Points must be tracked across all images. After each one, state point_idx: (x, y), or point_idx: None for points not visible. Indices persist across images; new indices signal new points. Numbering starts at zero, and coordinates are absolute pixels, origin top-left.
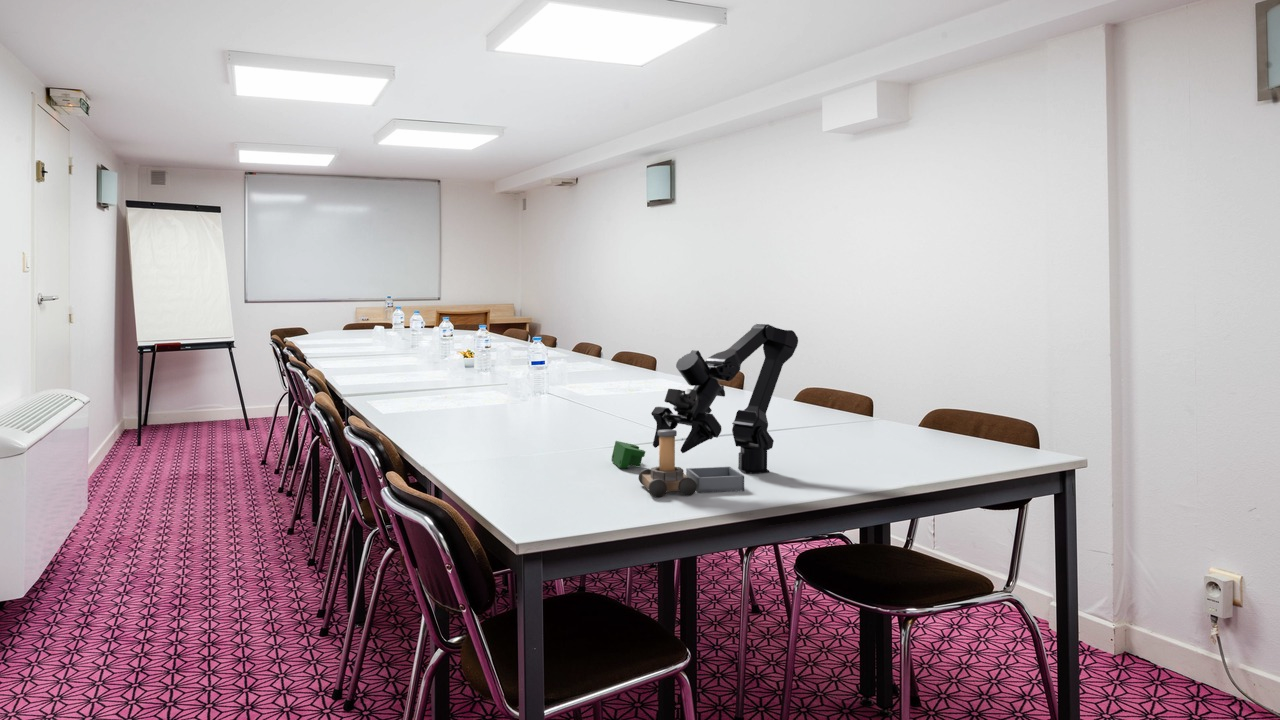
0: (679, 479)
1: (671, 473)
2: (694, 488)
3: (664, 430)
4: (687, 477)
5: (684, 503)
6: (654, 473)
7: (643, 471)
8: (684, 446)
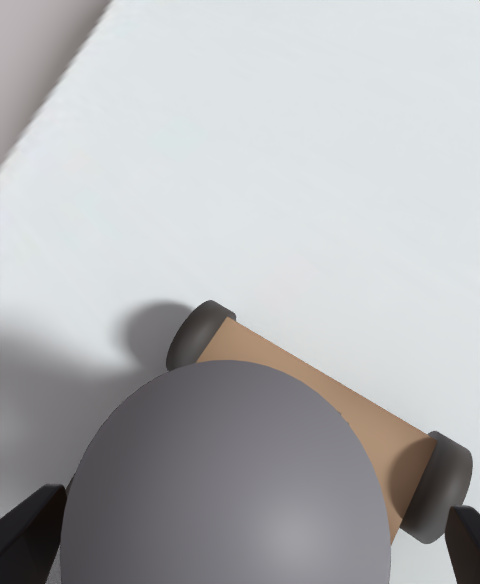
0: None
1: None
2: None
3: (286, 528)
4: None
5: (64, 356)
6: None
7: (439, 450)
8: (3, 518)
